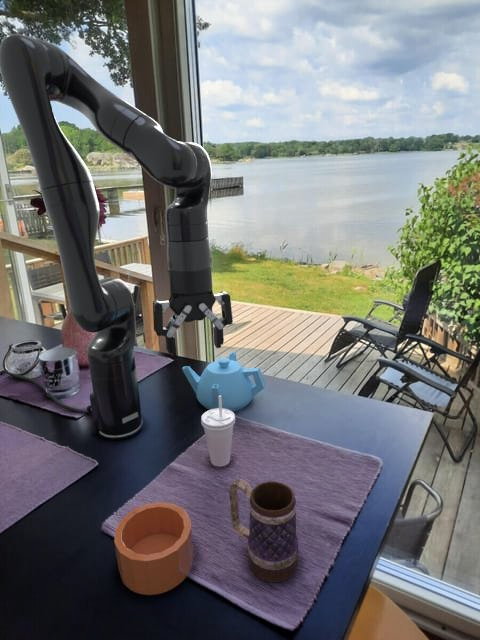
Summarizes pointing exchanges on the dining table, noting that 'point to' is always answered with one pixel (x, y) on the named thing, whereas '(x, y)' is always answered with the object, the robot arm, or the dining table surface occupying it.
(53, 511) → the dining table surface
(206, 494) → the dining table surface
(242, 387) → the teapot
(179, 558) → the bottle stand
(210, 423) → the smoothie
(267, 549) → the mug
